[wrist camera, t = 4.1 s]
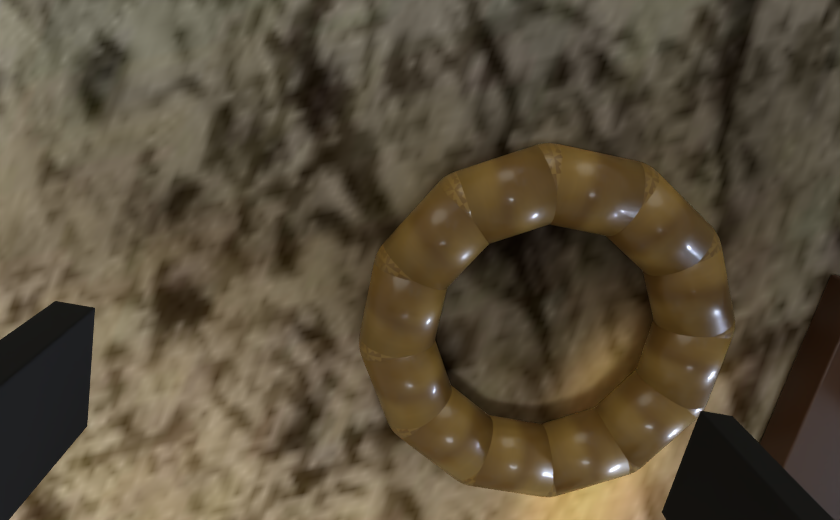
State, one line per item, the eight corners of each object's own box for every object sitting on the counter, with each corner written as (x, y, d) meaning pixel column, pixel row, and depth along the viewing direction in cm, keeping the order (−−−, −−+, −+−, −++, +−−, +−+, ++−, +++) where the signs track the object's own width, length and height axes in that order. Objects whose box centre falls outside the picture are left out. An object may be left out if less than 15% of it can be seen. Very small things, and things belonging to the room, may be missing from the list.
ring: (758, 184, 20) (804, 199, 18) (646, 486, 24) (674, 532, 21) (403, 108, 19) (404, 113, 17) (338, 437, 22) (331, 479, 20)
